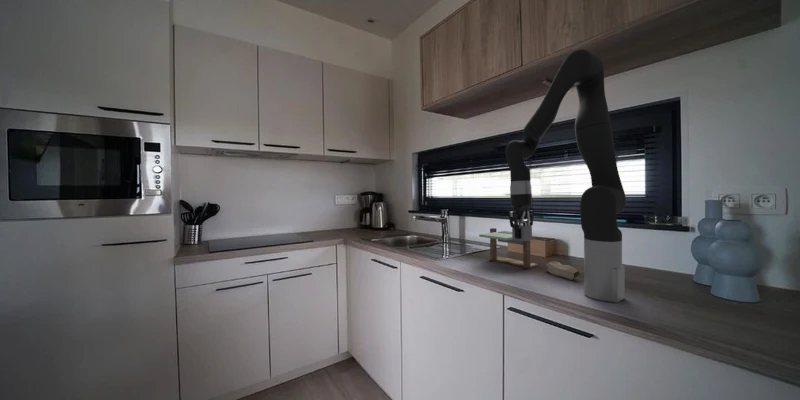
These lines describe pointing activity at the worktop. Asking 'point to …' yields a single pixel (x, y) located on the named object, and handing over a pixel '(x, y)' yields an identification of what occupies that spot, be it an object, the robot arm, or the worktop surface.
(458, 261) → the worktop surface
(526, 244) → the frame
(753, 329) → the worktop surface
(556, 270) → the bone fragment
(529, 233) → the grey block
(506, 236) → the trapdoor
